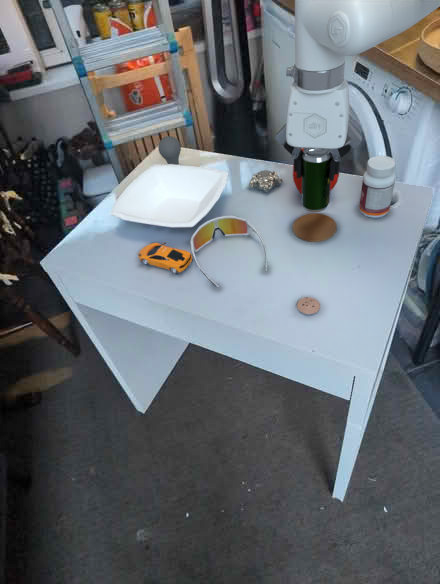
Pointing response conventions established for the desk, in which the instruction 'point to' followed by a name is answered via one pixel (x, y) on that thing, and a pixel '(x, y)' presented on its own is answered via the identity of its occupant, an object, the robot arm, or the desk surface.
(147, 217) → the bowl
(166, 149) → the light bulb
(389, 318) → the desk surface
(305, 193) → the beer can
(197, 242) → the sunglasses
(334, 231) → the coaster
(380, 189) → the pill bottle
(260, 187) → the ornament
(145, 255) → the toy car
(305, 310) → the cookie
